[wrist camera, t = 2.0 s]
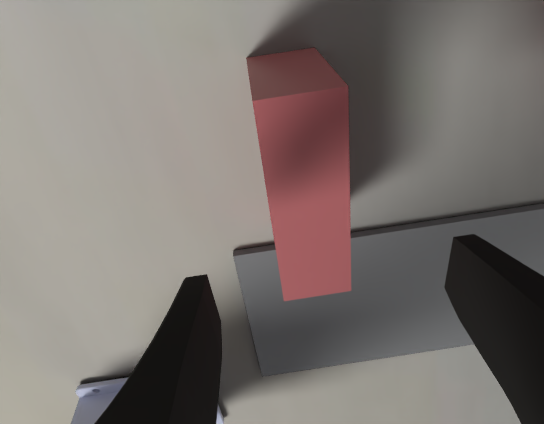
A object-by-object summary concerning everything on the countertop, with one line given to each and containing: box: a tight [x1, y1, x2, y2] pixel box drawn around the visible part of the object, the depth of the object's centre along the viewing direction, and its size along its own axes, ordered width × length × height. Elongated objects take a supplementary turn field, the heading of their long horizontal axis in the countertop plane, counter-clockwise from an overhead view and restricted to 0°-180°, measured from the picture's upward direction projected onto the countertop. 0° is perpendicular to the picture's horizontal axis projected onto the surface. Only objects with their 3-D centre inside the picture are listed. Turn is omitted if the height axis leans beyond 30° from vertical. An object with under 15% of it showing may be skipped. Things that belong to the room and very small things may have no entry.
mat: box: [233, 203, 544, 377], centre depth 26 cm, size 20×12×1 cm, turn 97°
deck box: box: [246, 48, 351, 301], centre depth 17 cm, size 3×9×6 cm, turn 7°
